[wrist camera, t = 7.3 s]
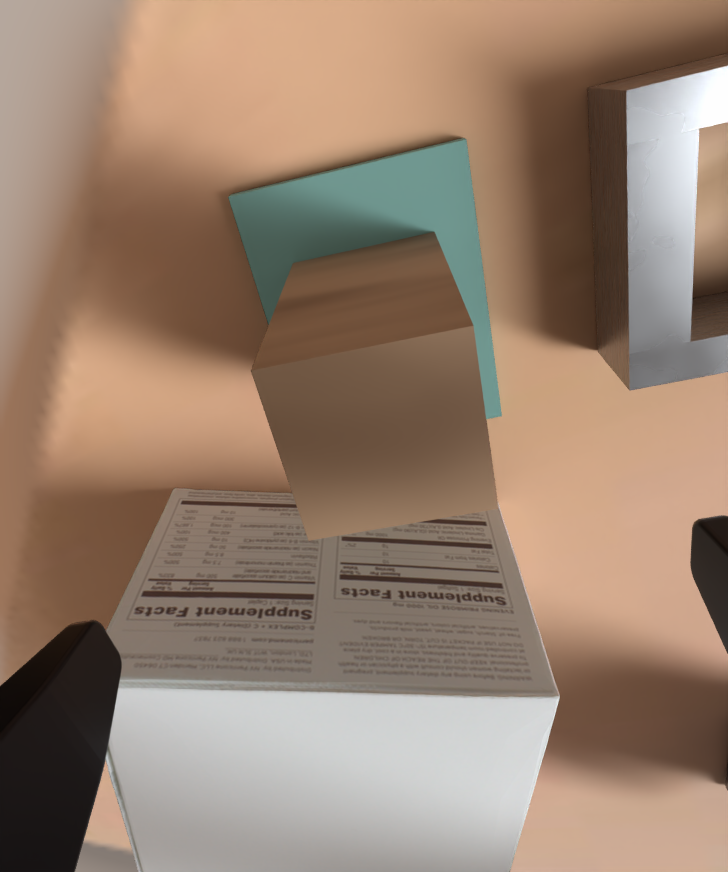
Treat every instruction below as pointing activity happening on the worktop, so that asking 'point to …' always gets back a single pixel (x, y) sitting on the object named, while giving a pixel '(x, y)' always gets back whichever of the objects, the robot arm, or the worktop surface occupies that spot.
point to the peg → (376, 390)
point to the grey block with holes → (654, 223)
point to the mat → (373, 227)
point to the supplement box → (325, 693)
